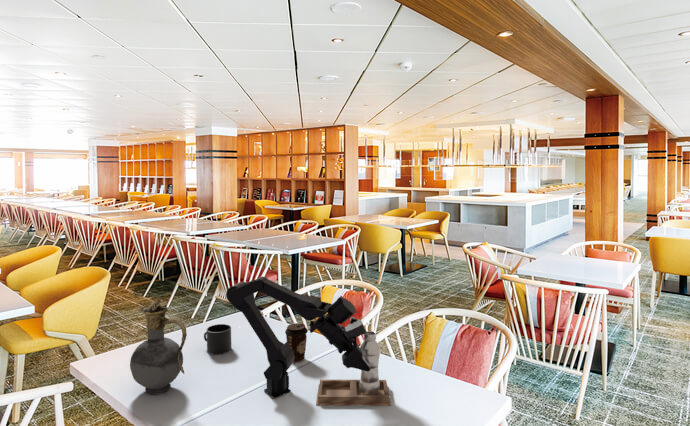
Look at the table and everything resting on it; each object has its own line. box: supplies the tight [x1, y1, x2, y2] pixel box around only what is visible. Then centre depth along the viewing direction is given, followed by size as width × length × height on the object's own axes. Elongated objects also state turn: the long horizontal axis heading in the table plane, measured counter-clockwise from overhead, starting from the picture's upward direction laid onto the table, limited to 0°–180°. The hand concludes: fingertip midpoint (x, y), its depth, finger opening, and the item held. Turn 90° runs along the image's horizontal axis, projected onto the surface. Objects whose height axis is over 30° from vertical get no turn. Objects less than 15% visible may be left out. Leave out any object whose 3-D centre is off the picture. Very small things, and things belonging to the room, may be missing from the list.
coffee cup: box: [284, 323, 309, 363], centre depth 163 cm, size 9×8×13 cm
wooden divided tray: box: [315, 379, 392, 407], centre depth 137 cm, size 23×12×2 cm, turn 90°
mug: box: [203, 323, 232, 355], centre depth 172 cm, size 9×12×9 cm
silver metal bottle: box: [359, 330, 381, 395], centre depth 136 cm, size 6×7×20 cm
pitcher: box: [129, 299, 188, 395], centre depth 139 cm, size 11×19×30 cm, turn 75°
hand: (366, 363), depth 136 cm, fingers open, 9 cm apart
